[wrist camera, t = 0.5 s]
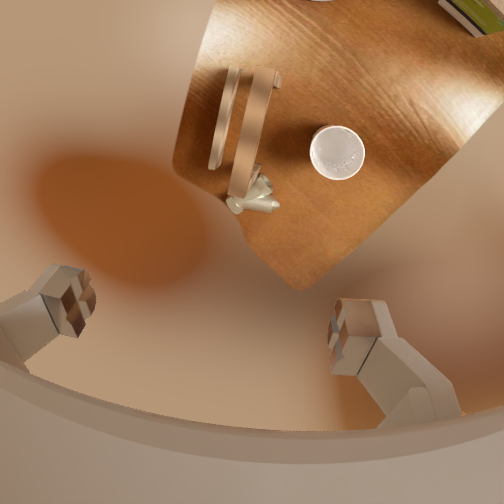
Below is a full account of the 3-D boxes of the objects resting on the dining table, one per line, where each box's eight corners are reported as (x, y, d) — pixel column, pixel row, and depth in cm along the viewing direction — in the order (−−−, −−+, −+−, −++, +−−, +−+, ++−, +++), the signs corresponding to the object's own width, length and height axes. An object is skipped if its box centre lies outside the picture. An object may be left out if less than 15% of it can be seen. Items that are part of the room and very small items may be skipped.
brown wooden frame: (234, 68, 45) (211, 57, 33) (282, 77, 44) (275, 69, 32) (214, 163, 54) (187, 184, 41) (258, 174, 53) (244, 198, 41)
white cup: (351, 120, 46) (361, 124, 37) (355, 164, 50) (366, 178, 41) (305, 123, 48) (306, 128, 39) (311, 167, 51) (313, 182, 43)
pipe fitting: (284, 200, 56) (262, 171, 53) (284, 208, 52) (260, 177, 50) (250, 221, 59) (228, 194, 56) (247, 231, 55) (224, 202, 53)
